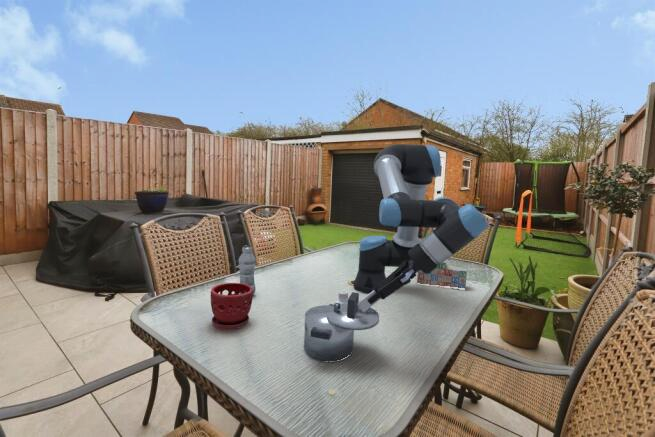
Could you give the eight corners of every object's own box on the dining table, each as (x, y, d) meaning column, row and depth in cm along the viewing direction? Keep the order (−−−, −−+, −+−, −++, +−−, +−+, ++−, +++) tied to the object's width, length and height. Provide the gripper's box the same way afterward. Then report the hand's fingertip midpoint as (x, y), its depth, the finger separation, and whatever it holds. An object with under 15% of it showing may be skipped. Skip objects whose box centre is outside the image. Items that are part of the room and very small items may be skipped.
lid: (381, 311, 95) (383, 291, 94) (375, 334, 81) (376, 310, 80) (333, 304, 98) (334, 284, 98) (319, 324, 84) (320, 302, 84)
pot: (358, 337, 100) (360, 306, 98) (345, 371, 82) (346, 334, 80) (315, 329, 103) (316, 299, 102) (293, 361, 85) (294, 325, 84)
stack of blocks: (463, 286, 152) (466, 261, 150) (465, 291, 146) (467, 264, 144) (416, 280, 158) (418, 256, 156) (416, 284, 152) (418, 259, 151)
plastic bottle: (251, 299, 126) (251, 249, 124) (235, 297, 127) (235, 247, 125) (258, 293, 132) (258, 245, 130) (242, 291, 134) (243, 244, 131)
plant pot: (230, 337, 97) (230, 298, 95) (202, 325, 104) (201, 289, 102) (260, 321, 108) (261, 286, 106) (233, 311, 115) (233, 278, 113)
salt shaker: (341, 315, 115) (342, 289, 114) (350, 318, 113) (351, 292, 111) (334, 318, 112) (335, 292, 111) (343, 322, 110) (344, 295, 108)
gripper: (441, 272, 75) (366, 328, 81) (437, 258, 87) (372, 308, 94) (419, 247, 76) (346, 305, 82) (418, 237, 88) (355, 289, 95)
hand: (360, 307), depth 88 cm, fingers closed
